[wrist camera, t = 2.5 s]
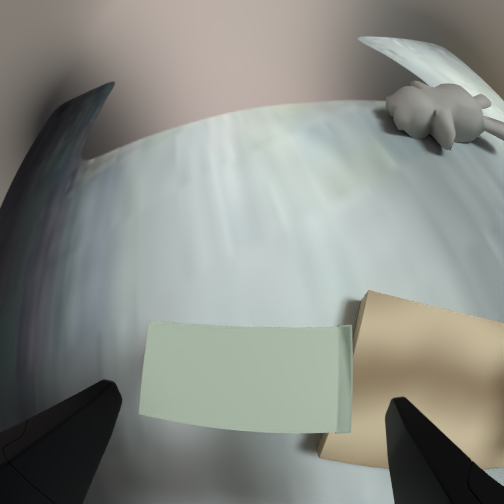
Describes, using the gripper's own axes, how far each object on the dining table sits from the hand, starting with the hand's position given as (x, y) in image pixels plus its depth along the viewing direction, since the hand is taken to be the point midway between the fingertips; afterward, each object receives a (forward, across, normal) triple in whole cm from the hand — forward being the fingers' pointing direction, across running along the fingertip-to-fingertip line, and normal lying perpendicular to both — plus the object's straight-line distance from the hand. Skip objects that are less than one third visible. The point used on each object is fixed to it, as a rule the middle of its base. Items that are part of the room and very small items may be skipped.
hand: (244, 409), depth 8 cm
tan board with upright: (+6, -13, +7) cm, 16 cm away
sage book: (+7, 0, +6) cm, 9 cm away
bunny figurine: (+24, -19, -11) cm, 33 cm away
